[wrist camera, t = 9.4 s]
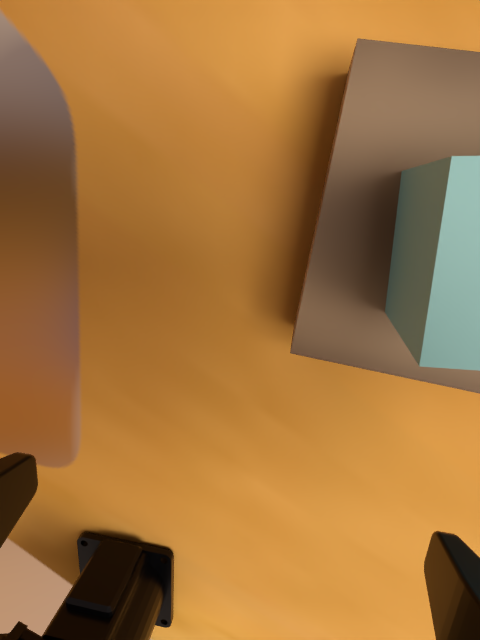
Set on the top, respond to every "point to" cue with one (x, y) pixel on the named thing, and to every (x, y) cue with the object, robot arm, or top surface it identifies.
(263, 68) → the top surface
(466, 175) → the teal cube
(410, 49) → the walnut block
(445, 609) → the robot arm
